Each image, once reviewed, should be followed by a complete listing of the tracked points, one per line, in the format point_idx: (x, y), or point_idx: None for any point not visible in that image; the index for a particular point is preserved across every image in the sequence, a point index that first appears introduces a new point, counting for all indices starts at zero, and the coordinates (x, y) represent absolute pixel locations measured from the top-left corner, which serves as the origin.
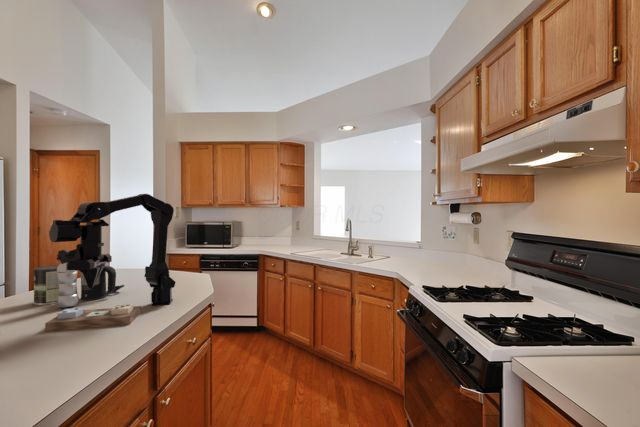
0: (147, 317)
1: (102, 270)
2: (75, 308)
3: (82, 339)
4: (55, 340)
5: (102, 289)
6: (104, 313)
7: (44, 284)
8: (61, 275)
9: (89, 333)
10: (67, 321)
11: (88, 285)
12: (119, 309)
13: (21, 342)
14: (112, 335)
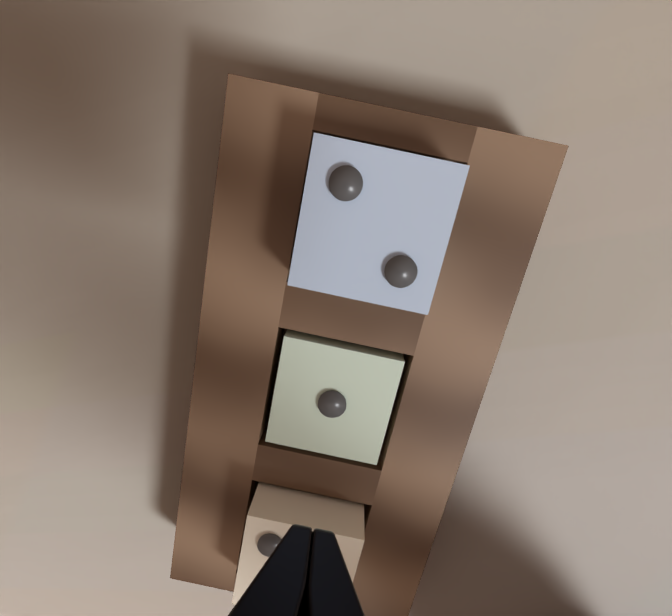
0: None
1: None
2: (436, 254)
3: (9, 353)
4: (32, 217)
5: None
6: (306, 447)
7: None
8: None
9: (100, 370)
10: (210, 238)
11: (270, 562)
12: (240, 555)
13: (53, 8)
14: (31, 474)
